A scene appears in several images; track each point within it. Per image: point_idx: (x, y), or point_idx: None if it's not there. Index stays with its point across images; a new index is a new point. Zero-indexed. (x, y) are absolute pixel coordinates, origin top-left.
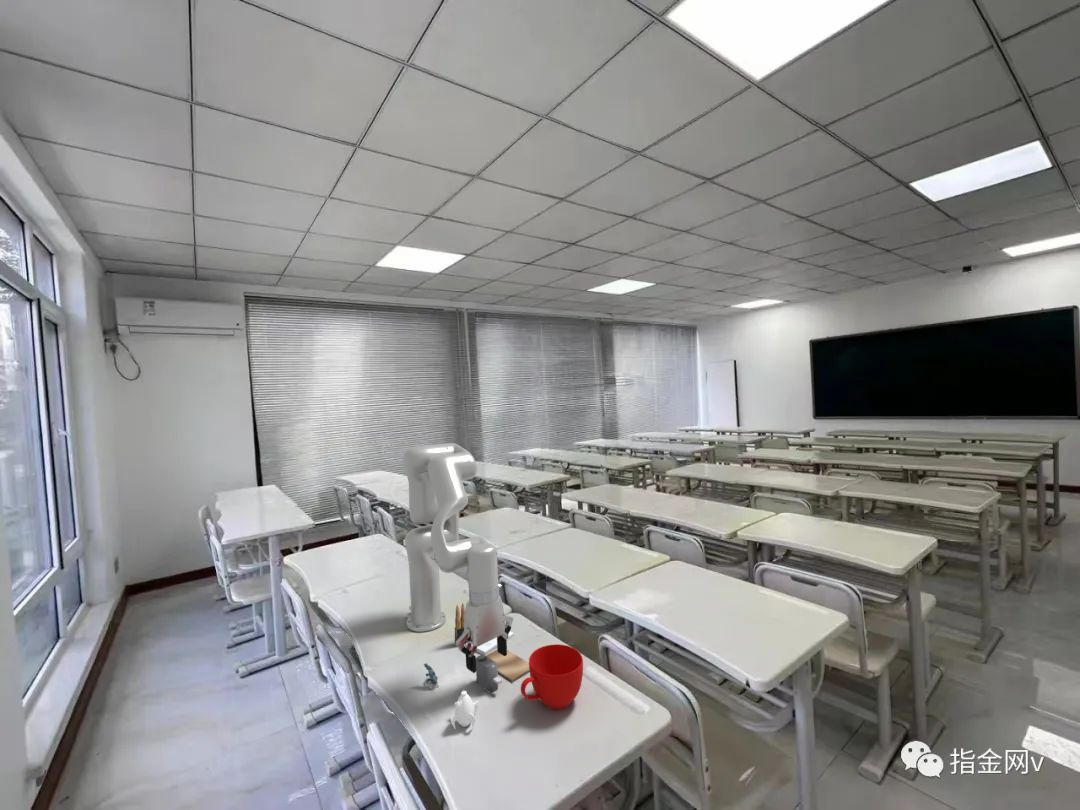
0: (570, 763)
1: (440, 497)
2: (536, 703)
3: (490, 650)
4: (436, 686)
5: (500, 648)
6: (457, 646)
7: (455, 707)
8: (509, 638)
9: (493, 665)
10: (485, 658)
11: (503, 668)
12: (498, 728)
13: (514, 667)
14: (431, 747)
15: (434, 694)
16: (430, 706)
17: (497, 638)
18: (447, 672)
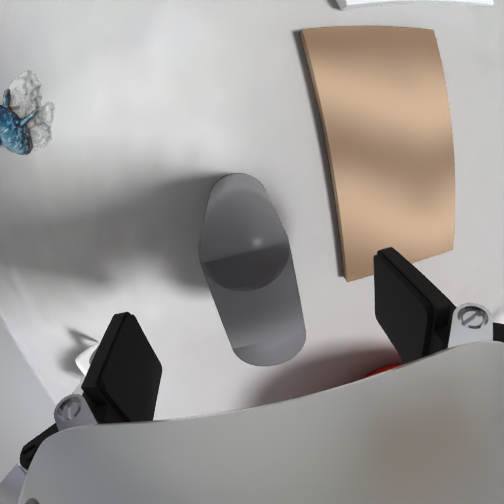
0: None
1: None
2: (335, 385)
3: (379, 4)
4: (38, 145)
5: (390, 306)
6: (9, 479)
7: None
8: (471, 4)
9: (276, 352)
10: (269, 267)
11: (365, 185)
12: (199, 412)
13: (403, 208)
14: (43, 378)
15: (31, 183)
16: (19, 244)
17: (425, 320)
18: (111, 42)
